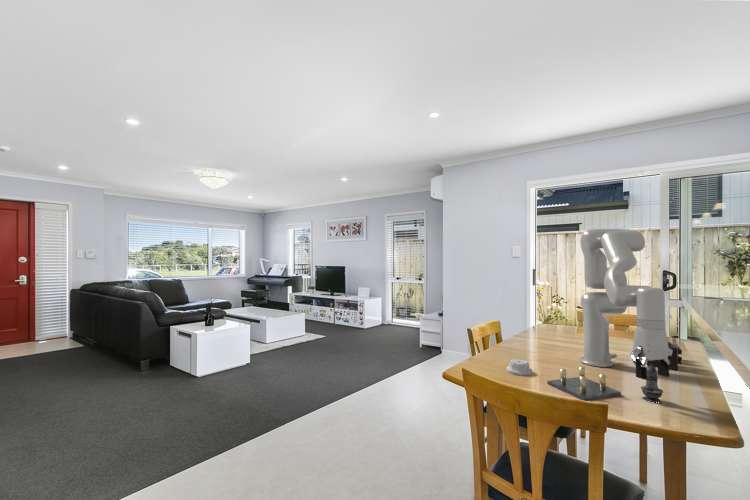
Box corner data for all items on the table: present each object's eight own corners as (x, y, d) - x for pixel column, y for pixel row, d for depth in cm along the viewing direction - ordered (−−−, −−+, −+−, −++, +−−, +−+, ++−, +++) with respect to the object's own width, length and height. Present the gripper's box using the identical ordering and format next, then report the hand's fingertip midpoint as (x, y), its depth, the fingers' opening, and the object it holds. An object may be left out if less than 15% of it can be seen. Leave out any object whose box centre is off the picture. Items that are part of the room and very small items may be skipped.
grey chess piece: (658, 398, 118) (658, 362, 119) (666, 405, 113) (666, 367, 113) (638, 395, 120) (637, 360, 121) (644, 402, 115) (644, 365, 115)
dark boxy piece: (646, 360, 161) (645, 321, 161) (678, 365, 154) (677, 324, 154) (643, 368, 150) (642, 326, 150) (677, 374, 142) (676, 329, 143)
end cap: (658, 356, 167) (658, 342, 168) (678, 359, 164) (677, 344, 164) (661, 362, 159) (661, 346, 159) (682, 364, 155) (681, 349, 155)
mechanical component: (508, 375, 142) (535, 377, 140) (508, 364, 142) (534, 365, 140) (504, 367, 152) (529, 369, 150) (504, 357, 152) (529, 358, 150)
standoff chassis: (581, 379, 136) (581, 363, 136) (620, 395, 121) (620, 377, 121) (547, 384, 132) (547, 367, 132) (583, 400, 116) (583, 381, 116)
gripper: (658, 321, 123) (659, 371, 122) (620, 324, 118) (621, 375, 117) (682, 325, 116) (684, 378, 115) (642, 328, 111) (644, 383, 110)
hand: (652, 377), depth 116 cm, fingers open, 9 cm apart
